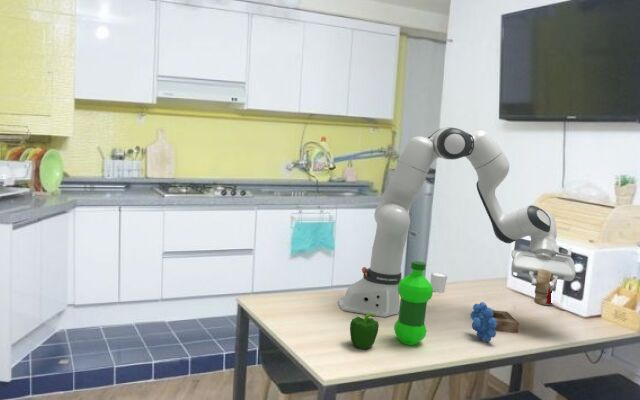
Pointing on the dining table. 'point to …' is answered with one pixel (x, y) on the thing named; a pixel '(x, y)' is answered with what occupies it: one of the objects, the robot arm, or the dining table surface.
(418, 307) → the plastic bottle
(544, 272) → the oak peg
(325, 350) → the dining table surface
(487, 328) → the grapes
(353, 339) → the bell pepper
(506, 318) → the wooden tray
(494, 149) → the robot arm
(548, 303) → the soda can
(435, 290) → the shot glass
